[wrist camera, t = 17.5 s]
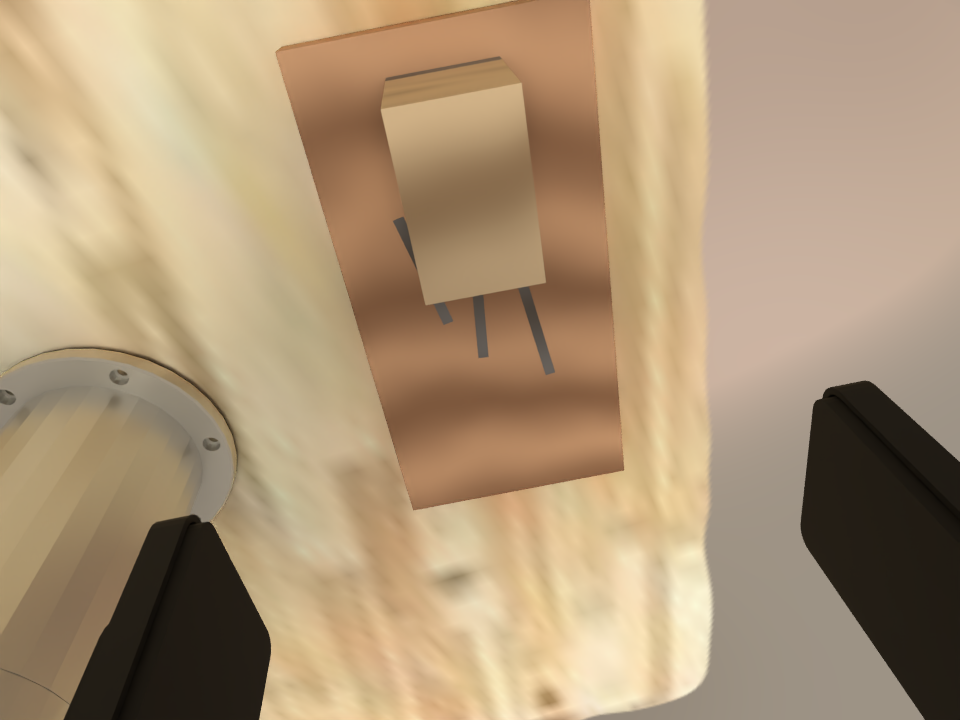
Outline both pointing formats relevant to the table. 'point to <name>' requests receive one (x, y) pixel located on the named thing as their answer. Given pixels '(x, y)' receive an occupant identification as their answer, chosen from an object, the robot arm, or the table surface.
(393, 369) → the board
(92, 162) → the table surface
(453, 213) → the block
